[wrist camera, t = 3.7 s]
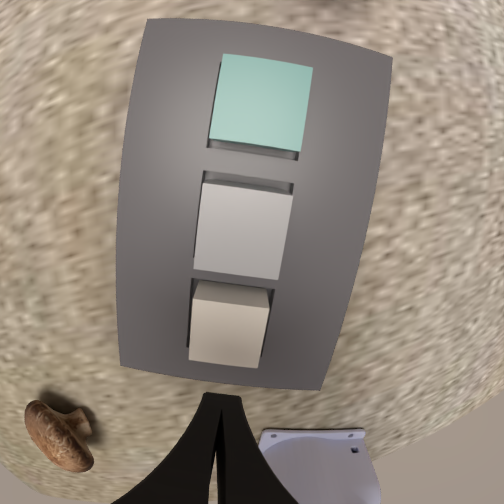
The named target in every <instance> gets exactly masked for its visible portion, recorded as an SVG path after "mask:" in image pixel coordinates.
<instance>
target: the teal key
mask: <svg viewBox="0 0 504 504" xmlns="http://www.w3.org/2000/svg"><path fill="white" fill-rule="evenodd" d="M312 72H313V68H312V67H308V66H303V65H298V64H293V63H287V62H282V61H276V60H270V59H263V58H257V57H249V56H241V55H232V54H223V58H222V63H221V69H220V74H219V80H218V85H217V91H216V97H215V103H214V109H213V116H212V122H211V128H210V135H209V138H210V139H212V140H214V141H219V142H227V143H235V144H242V145H249V146H256V147H263V148H269V149H275V150H281V151H287V152H301V146H302V139H303V133H304V127H305V120H306V113H307V107H308V100H309V93H310V86H311V79H312Z"/></svg>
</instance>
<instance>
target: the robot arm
mask: <svg viewBox="0 0 504 504" xmlns="http://www.w3.org/2000/svg"><path fill="white" fill-rule="evenodd" d="M273 434H275V435H273ZM365 434H366V432H365V430H364V429H352V430H273V429H266V430H264V431H263V432H262V434H261V437H260V441H259V444H258V445H257V443H256V441H255V438H254V436H253V434H252V432H251V429H250V427H249V424H248V422H247V419H246V416H245V413H244V409H243V405H242V400H241V398H240V397H239V396H236V395H227V394H218V393H210V392H206V393H204V394H203V397H202V400H201V403H200V405H199V407H198V409H197V411H196V413H195V415H194V417H193V419H192V421H191V422H190V424H189V426H188V427H187V429H186V431H185V432H184V434H183V435H182V437H181V438H180V439H179V441H178V442H177V444H176V445H175V446H174V448H173V449H172V450H171V451H170V453H169V454H168V455H167V456H166V457H165V458H164V460H163V461H162V462H161V463H160V464H159V465H158V466H157V467H156V468H155V469H154V470H153V471H152V472H151V473H150V474H149V475H148V476H147V477H146V478H145V479H144V480H142V481H141V482H140V483H139V484H137V485H136V486H135V487H134V488H132V489H131V490H130V491H129V492H127V493H126V494H125V495H123V496H122V497H120V498H119V499H117V500H116V501H114V502H113V503H111V504H208V498H209V484H210V479H211V474H212V469H213V464H214V458H215V453H216V461H217V488H218V504H381V491H380V490H381V489H380V485H379V481H378V478H377V476H376V473H375V470H374V467H373V465H372V462H371V459H370V456H369V454H368V451H367V448H366V445H365V443H364V440H363V438H364V436H365Z"/></svg>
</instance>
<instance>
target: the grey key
mask: <svg viewBox="0 0 504 504" xmlns="http://www.w3.org/2000/svg"><path fill="white" fill-rule="evenodd" d="M292 200H293V195H291V194H290V193H289V192H288V191H287V190H283V189H277V188H271V187H264V186H258V185H251V184H244V183H237V182H229V181H222V180H214V179H208V180H207V181H205V182H204V183H203V186H202V194H201V202H200V210H199V219H198V228H197V237H196V247H195V257H194V268H193V269H198V270H206V271H213V272H220V273H227V274H235V275H242V276H250V277H258V278H265V279H273V280H278V277H279V272H280V267H281V262H282V256H283V251H284V245H285V240H286V234H287V229H288V223H289V217H290V212H291V206H292Z"/></svg>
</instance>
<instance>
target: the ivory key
mask: <svg viewBox="0 0 504 504" xmlns="http://www.w3.org/2000/svg"><path fill="white" fill-rule="evenodd" d="M268 313H269V303H268V296H267V290H266V289H264V288H256V287H249V286H241V285H233V284H226V283H218V282H211V281H204V280H199V282H198V285H197V288H196V291H195V294H194V297H193V304H192V317H191V331H190V346H189V360H193V361H200V362H207V363H215V364H222V365H230V366H239V367H248V368H258V363H259V359H260V354H261V349H262V344H263V339H264V334H265V329H266V324H267V319H268Z"/></svg>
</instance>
